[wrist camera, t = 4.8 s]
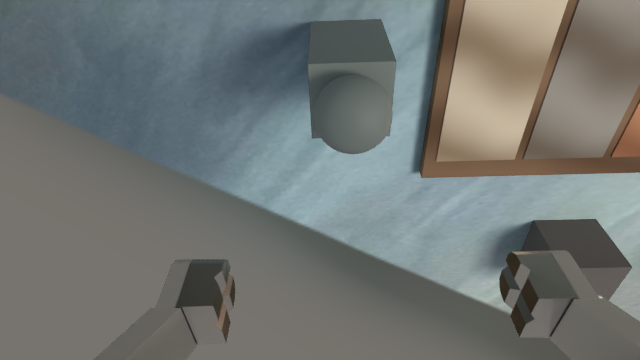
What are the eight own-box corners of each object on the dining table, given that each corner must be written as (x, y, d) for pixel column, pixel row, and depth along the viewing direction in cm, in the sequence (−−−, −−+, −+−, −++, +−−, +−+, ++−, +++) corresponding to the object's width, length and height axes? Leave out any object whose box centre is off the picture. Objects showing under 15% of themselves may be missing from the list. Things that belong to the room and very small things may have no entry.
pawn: (310, 21, 23) (305, 94, 16) (381, 19, 23) (407, 91, 16) (314, 86, 25) (310, 174, 18) (377, 84, 25) (398, 172, 18)
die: (533, 219, 33) (562, 269, 29) (595, 218, 33) (633, 268, 29) (516, 259, 36) (540, 309, 32) (573, 258, 36) (604, 308, 32)
